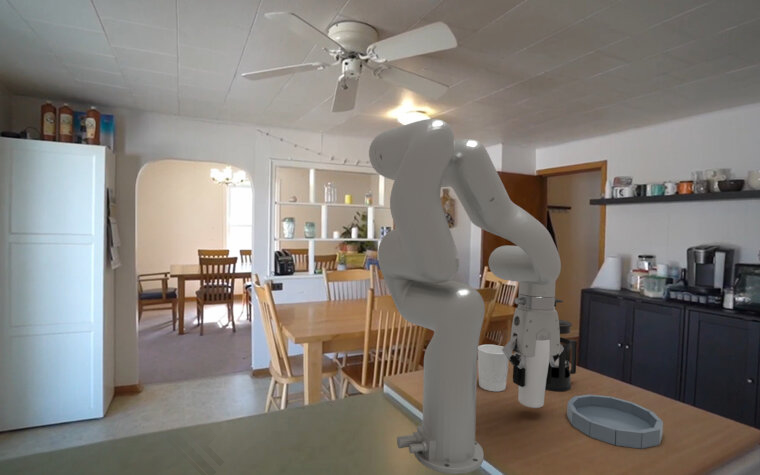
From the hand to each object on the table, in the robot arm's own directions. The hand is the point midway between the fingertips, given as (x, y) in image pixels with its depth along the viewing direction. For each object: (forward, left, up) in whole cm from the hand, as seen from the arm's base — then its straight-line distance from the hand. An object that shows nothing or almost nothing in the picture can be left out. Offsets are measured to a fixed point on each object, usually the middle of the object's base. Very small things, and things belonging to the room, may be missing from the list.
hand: (531, 382), depth 89 cm
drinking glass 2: (0, 0, -5) cm, 5 cm away
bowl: (+14, -9, -7) cm, 18 cm away
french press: (+18, +13, -8) cm, 24 cm away
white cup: (+1, +16, -8) cm, 18 cm away
